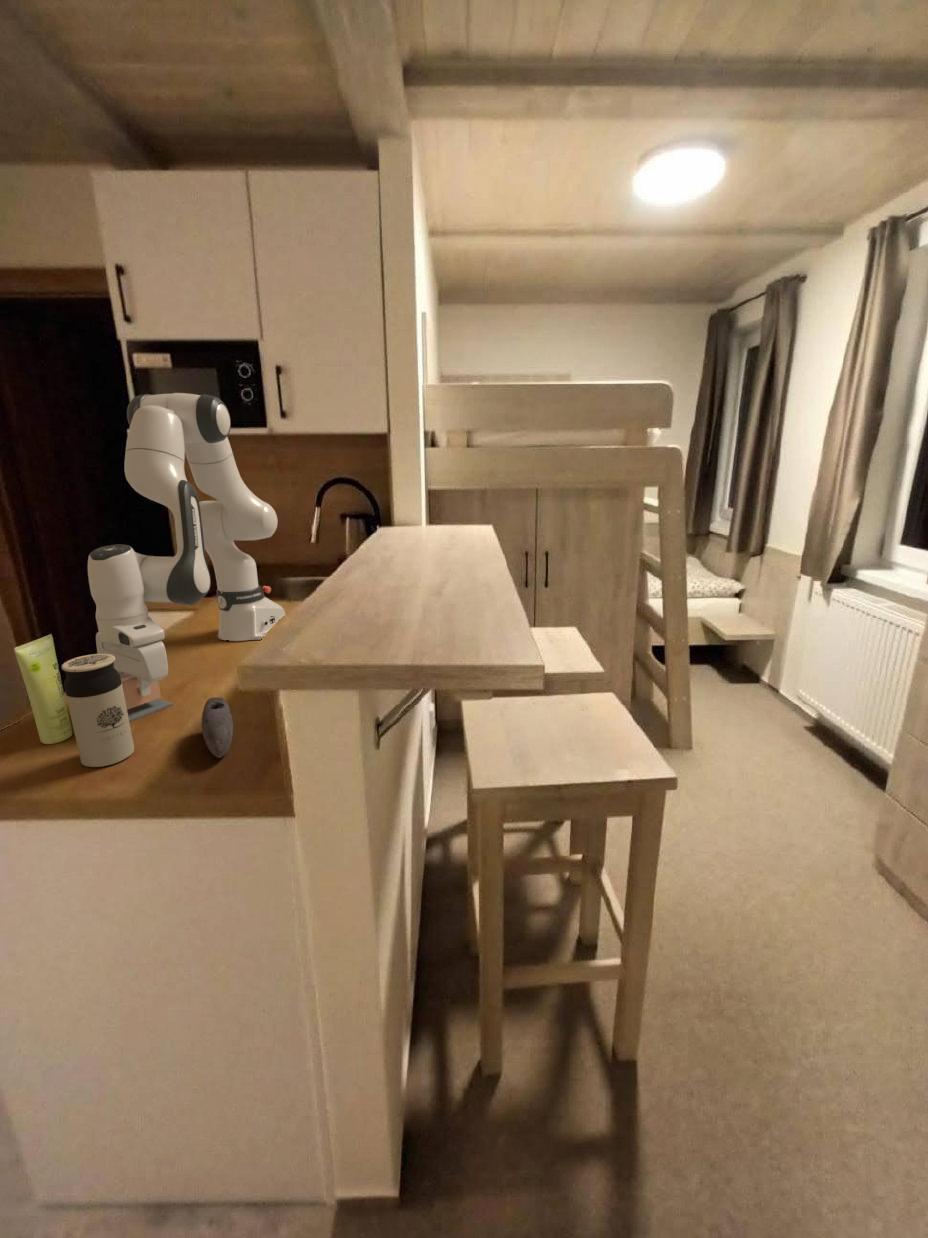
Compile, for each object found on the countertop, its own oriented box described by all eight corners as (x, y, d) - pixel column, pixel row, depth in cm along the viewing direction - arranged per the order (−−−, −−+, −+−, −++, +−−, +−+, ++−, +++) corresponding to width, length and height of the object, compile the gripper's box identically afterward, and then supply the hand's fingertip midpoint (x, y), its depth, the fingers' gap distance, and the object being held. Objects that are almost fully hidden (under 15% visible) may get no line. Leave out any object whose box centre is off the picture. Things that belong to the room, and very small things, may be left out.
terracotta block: (115, 704, 111) (110, 679, 110) (149, 692, 117) (145, 668, 115) (127, 709, 109) (122, 683, 107) (161, 697, 115) (157, 672, 113)
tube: (72, 741, 101) (50, 642, 95) (38, 749, 98) (13, 647, 93) (73, 729, 105) (51, 633, 100) (41, 736, 103) (16, 638, 97)
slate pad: (153, 697, 119) (153, 695, 119) (173, 705, 116) (173, 703, 116) (105, 714, 111) (105, 712, 111) (124, 723, 108) (124, 722, 107)
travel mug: (77, 756, 96) (55, 661, 91) (127, 740, 101) (110, 649, 96) (87, 774, 90) (64, 673, 85) (140, 756, 96) (122, 661, 91)
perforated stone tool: (235, 762, 94) (230, 726, 92) (202, 769, 92) (196, 732, 90) (234, 724, 107) (230, 692, 105) (205, 729, 105) (200, 697, 103)
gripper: (82, 623, 111) (95, 685, 115) (136, 641, 101) (148, 708, 105) (114, 616, 116) (125, 676, 120) (169, 632, 106) (179, 697, 110)
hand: (136, 691), depth 112 cm, fingers closed on terracotta block, 4 cm apart
